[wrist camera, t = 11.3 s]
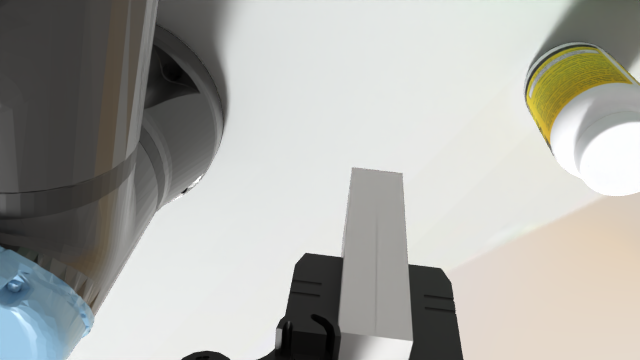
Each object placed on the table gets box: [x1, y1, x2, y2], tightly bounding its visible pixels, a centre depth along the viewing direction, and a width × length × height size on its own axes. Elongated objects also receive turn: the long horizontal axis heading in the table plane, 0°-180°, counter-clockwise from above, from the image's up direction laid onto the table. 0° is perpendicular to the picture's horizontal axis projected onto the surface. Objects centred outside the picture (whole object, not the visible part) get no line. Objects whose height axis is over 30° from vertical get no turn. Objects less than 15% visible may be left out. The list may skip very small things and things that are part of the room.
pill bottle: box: [524, 42, 640, 196], centre depth 35 cm, size 6×6×11 cm
